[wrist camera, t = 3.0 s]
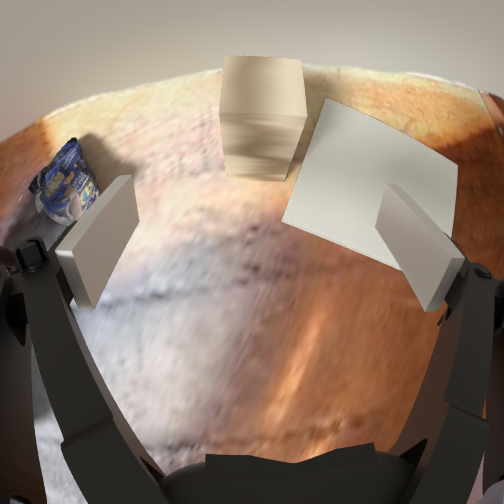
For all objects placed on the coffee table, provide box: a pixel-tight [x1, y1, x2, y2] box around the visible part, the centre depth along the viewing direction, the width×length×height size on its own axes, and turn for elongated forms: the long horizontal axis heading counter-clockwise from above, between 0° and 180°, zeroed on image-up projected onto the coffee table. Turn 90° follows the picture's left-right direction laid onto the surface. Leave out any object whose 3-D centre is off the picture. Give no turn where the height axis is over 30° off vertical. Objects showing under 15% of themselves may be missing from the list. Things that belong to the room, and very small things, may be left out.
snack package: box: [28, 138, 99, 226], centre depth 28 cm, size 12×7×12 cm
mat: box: [281, 98, 458, 271], centre depth 31 cm, size 20×17×1 cm
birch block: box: [219, 56, 307, 182], centre depth 25 cm, size 6×6×12 cm
